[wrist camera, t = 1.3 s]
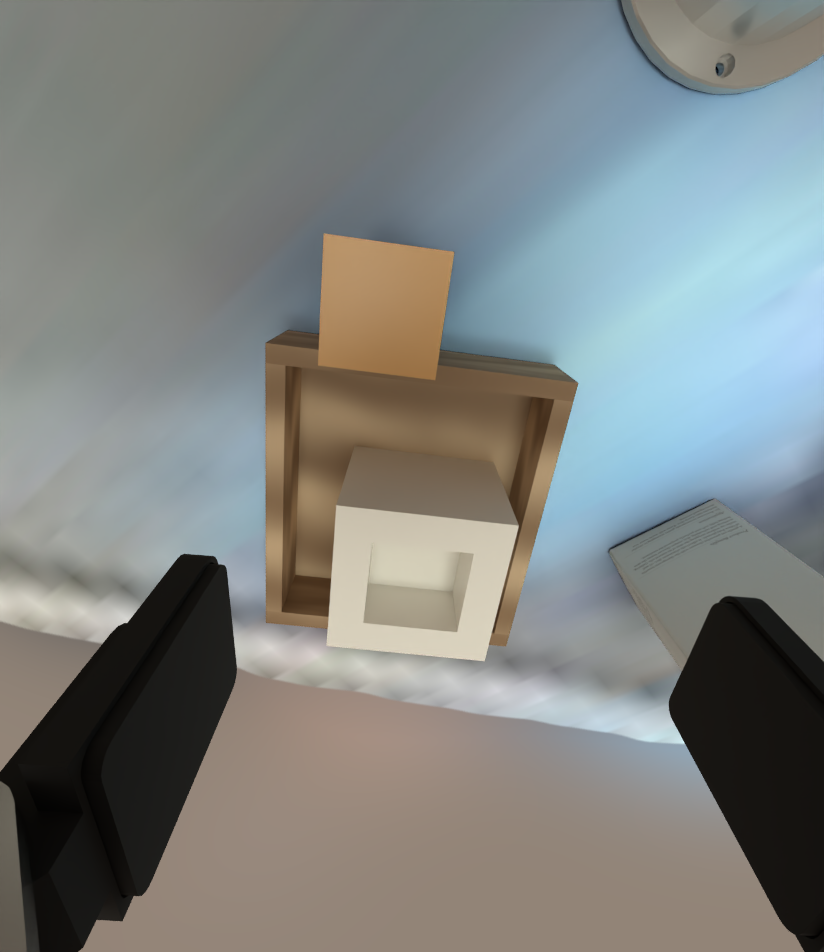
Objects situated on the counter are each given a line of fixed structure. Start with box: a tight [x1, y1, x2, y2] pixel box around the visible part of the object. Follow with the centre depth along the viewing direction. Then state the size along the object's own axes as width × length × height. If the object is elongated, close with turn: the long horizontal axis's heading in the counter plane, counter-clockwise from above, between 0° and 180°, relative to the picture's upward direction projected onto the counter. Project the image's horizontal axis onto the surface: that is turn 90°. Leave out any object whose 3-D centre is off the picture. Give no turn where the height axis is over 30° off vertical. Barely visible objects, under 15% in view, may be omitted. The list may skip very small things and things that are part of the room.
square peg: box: [318, 234, 454, 380], centre depth 22 cm, size 4×4×12 cm
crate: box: [266, 330, 578, 646], centre depth 30 cm, size 18×16×5 cm
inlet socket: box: [327, 446, 519, 661], centre depth 29 cm, size 9×9×8 cm
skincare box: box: [609, 499, 824, 671], centre depth 27 cm, size 8×7×16 cm
